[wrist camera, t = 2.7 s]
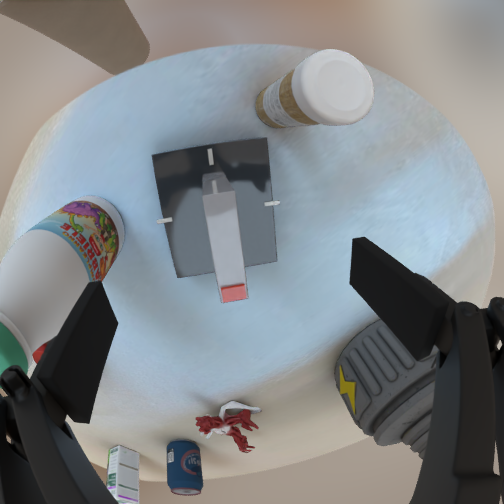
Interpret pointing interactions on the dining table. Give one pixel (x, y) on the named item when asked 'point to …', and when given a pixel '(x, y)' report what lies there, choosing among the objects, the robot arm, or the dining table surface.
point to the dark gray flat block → (192, 209)
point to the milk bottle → (53, 274)
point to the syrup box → (123, 475)
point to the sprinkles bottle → (318, 92)
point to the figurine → (229, 423)
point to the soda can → (184, 467)
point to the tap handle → (224, 236)
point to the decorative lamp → (387, 388)
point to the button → (39, 353)
